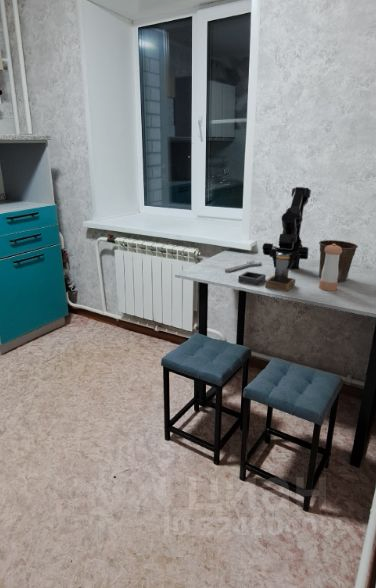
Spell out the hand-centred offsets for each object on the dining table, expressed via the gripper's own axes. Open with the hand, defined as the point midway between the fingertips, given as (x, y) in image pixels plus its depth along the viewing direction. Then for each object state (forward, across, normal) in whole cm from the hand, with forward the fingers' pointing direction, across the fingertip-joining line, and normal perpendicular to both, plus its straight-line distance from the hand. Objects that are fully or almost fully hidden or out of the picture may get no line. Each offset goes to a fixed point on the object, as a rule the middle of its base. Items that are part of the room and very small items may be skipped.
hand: (281, 268), depth 166 cm
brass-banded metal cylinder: (+4, 0, +6) cm, 7 cm away
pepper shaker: (+1, +19, +12) cm, 22 cm away
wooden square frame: (+5, 0, +7) cm, 8 cm away
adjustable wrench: (-10, -22, +23) cm, 34 cm away
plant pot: (-10, +20, +23) cm, 32 cm away
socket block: (+3, -13, +9) cm, 16 cm away
